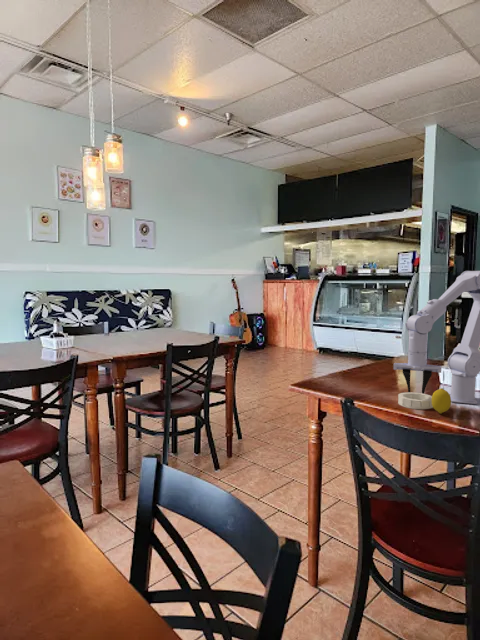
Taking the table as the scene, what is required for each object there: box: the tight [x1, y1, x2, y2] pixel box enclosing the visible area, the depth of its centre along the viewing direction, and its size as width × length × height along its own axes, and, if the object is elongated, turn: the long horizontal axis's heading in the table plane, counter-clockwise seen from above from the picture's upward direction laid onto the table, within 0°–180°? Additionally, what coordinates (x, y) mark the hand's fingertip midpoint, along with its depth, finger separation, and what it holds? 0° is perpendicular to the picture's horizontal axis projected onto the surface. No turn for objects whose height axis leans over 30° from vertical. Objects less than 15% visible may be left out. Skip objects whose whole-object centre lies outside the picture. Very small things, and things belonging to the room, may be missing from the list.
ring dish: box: [397, 391, 434, 410], centre depth 147 cm, size 11×11×3 cm
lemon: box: [431, 387, 452, 415], centre depth 137 cm, size 6×6×8 cm
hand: (416, 392), depth 146 cm, fingers open, 4 cm apart
